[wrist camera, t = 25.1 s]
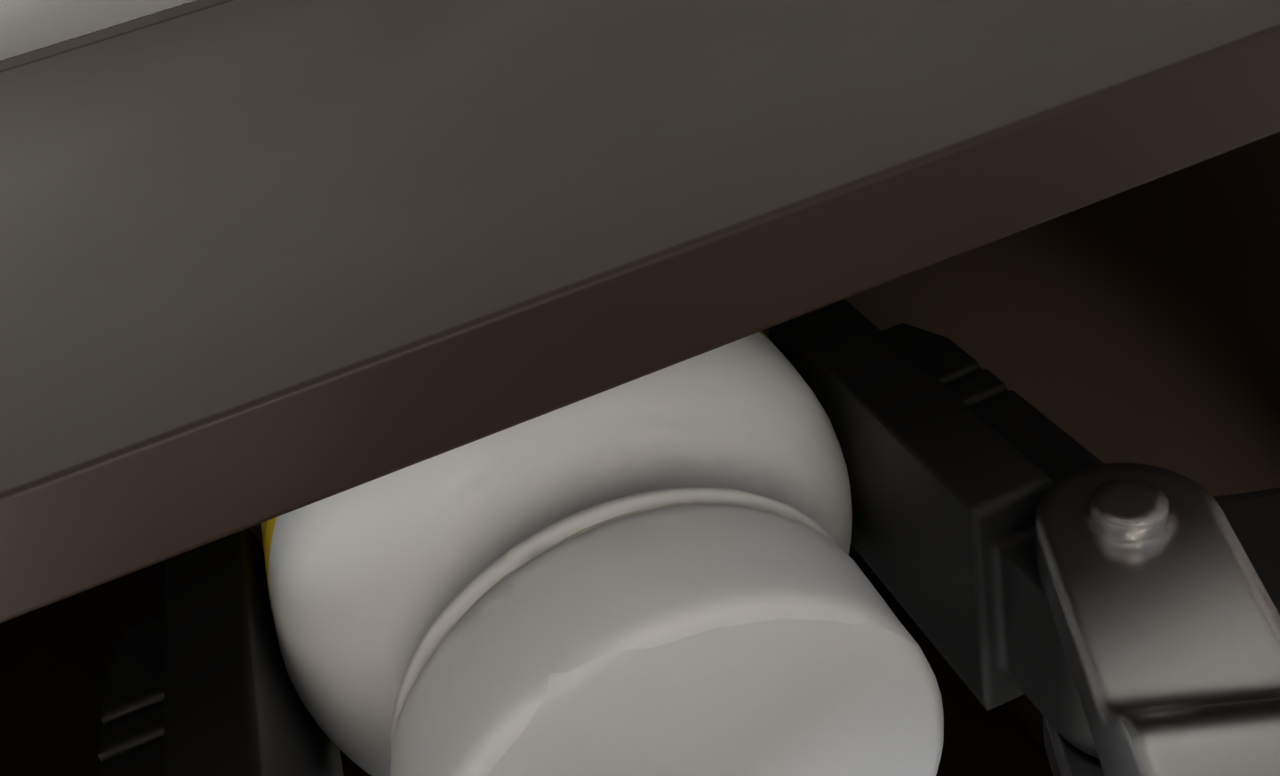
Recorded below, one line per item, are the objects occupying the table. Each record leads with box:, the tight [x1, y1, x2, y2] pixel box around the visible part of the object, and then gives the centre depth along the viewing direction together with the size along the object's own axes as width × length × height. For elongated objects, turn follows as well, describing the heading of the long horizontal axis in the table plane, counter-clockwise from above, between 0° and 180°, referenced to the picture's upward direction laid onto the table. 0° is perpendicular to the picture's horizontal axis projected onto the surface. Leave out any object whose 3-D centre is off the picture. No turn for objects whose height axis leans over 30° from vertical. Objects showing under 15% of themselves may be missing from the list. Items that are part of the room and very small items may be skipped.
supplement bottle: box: [261, 331, 944, 776], centre depth 12 cm, size 5×5×10 cm
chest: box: [0, 0, 1280, 776], centre depth 15 cm, size 14×14×12 cm
